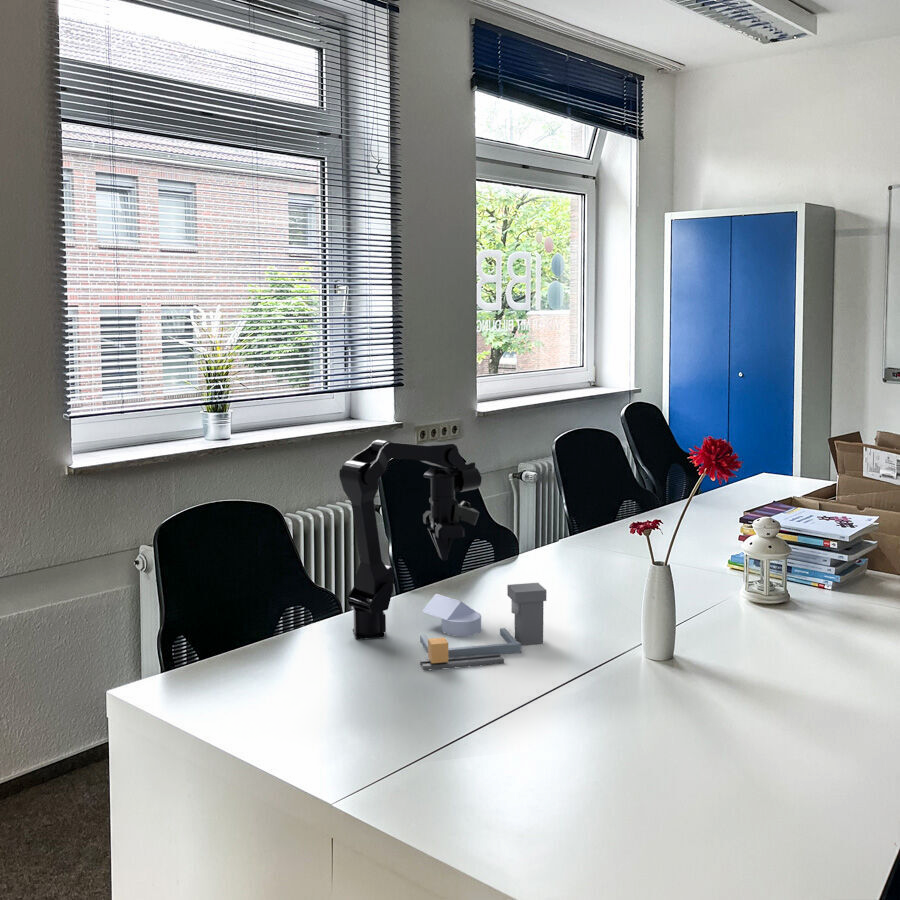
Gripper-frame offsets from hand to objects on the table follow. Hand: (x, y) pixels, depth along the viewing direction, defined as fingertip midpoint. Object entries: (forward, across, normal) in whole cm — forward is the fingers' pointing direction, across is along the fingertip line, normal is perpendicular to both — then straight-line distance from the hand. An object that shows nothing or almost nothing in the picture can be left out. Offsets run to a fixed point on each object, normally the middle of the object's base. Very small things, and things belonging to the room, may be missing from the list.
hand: (443, 559), depth 238 cm
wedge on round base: (+13, -12, 0) cm, 18 cm away
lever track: (+13, -35, +4) cm, 38 cm away
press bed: (+13, -26, -3) cm, 29 cm away
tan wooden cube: (+13, -35, +9) cm, 38 cm away
